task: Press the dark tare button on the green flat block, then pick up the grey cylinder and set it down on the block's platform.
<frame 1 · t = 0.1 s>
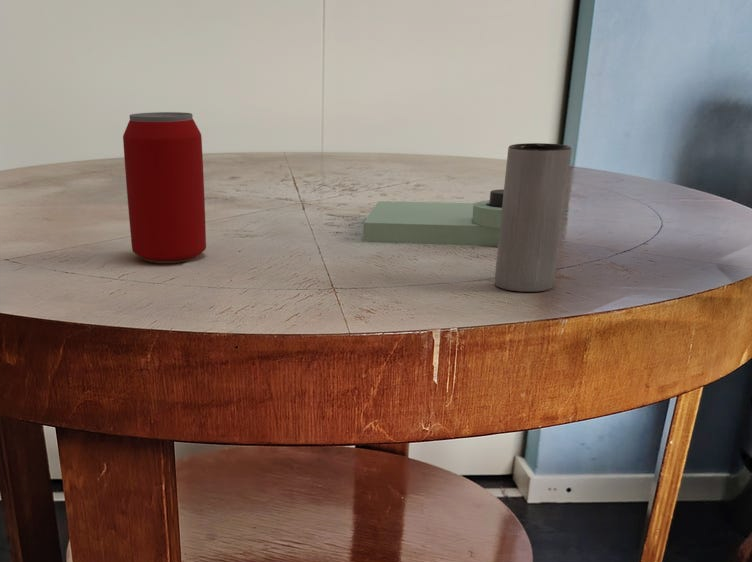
green flat block: (444, 232, 91), on the table
grey cylinder: (523, 288, 71), on the table
beverage can: (169, 259, 82), on the table
tare button: (504, 200, 84), point 4 cm above the table, slide at 0.1 cm
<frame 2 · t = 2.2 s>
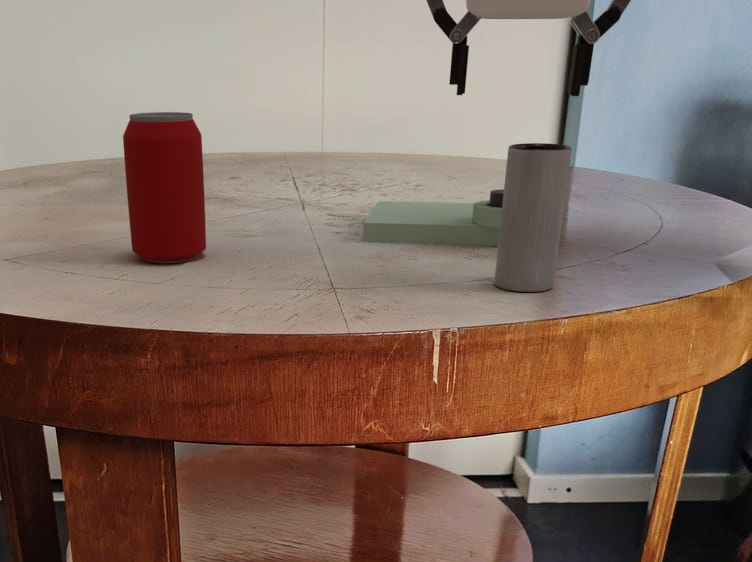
hand: (516, 94, 79), 13 cm above the table, tool pointing down, fingers open, 9 cm apart
nothing on the table moved.
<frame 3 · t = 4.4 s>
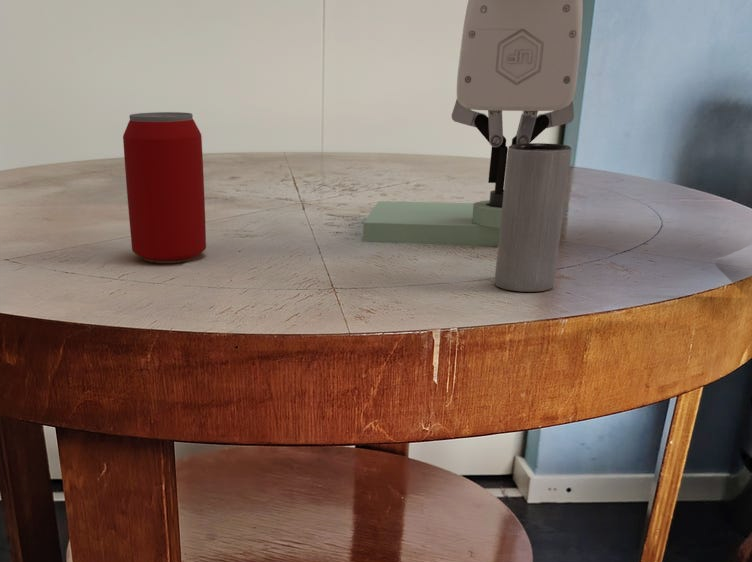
hand: (503, 191, 84), 5 cm above the table, tool pointing down, fingers closed
tare button: (504, 200, 84), point 4 cm above the table, slide at 0.1 cm, touching gripper
everything else where it was.
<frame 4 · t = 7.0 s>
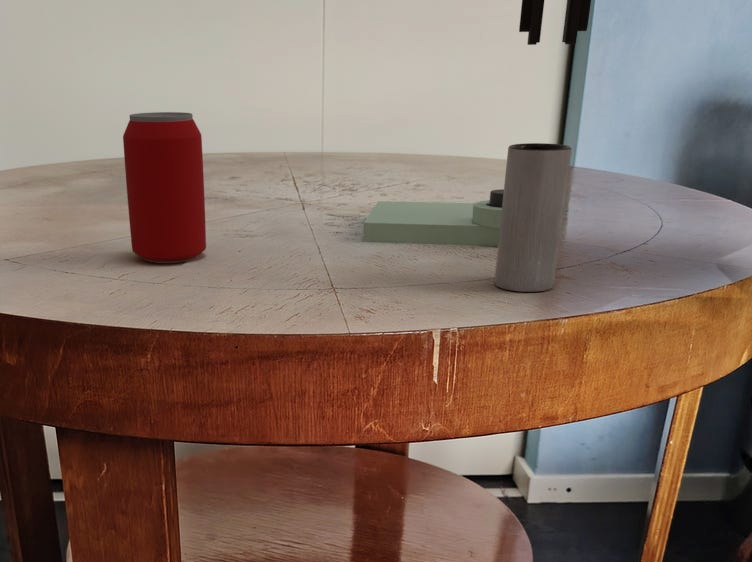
hand: (551, 42, 63), 17 cm above the table, tool pointing down, fingers closed
tare button: (504, 200, 84), point 4 cm above the table, slide at 0.1 cm
everything else where it was.
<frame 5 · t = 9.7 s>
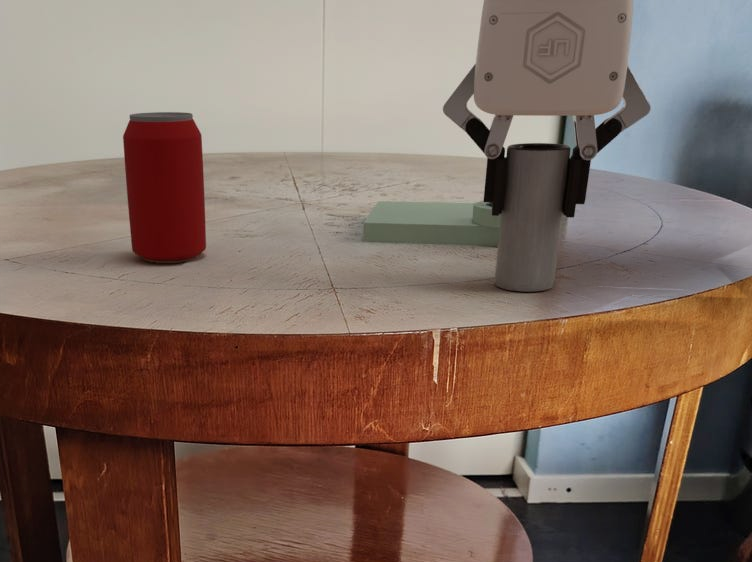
hand: (532, 211, 68), 6 cm above the table, tool pointing down, fingers closed on grey cylinder, 4 cm apart
grey cylinder: (523, 287, 71), on the table, touching gripper
everything else where it was.
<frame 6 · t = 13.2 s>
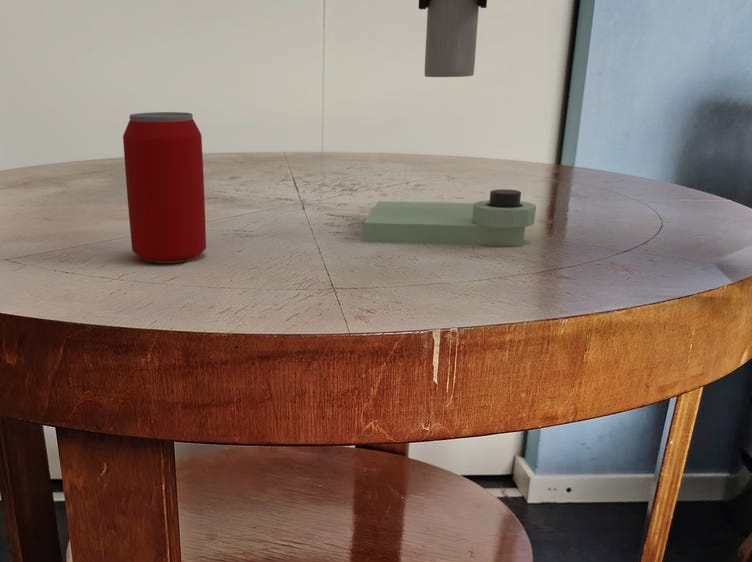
hand: (452, 5, 81), 20 cm above the table, tool pointing down, fingers closed on grey cylinder, 4 cm apart
grey cylinder: (448, 78, 84), point 14 cm above the table, touching gripper
everything else where it was.
when the fingers open (8 cm above the table, at t = 16.7 s): grey cylinder stays where it is, resting on green flat block.
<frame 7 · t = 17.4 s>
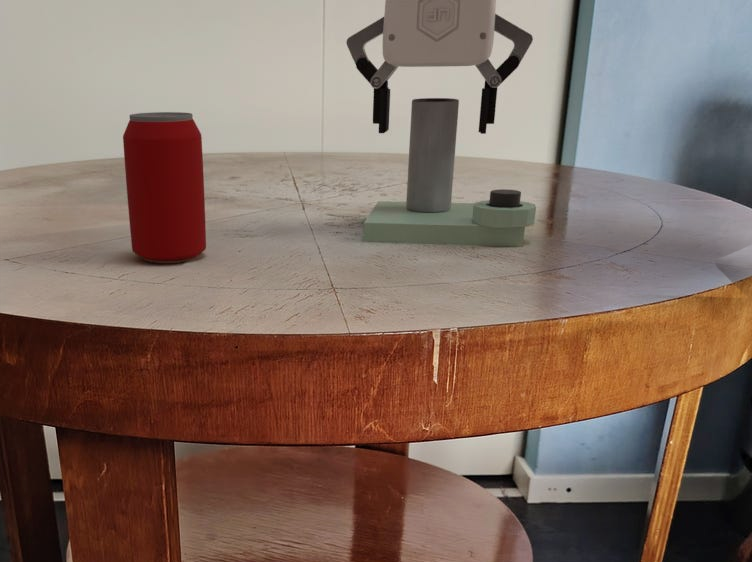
hand: (432, 132, 89), 9 cm above the table, tool pointing down, fingers open, 9 cm apart
grey cylinder: (428, 211, 92), point 2 cm above the table, touching green flat block
everything else where it was.
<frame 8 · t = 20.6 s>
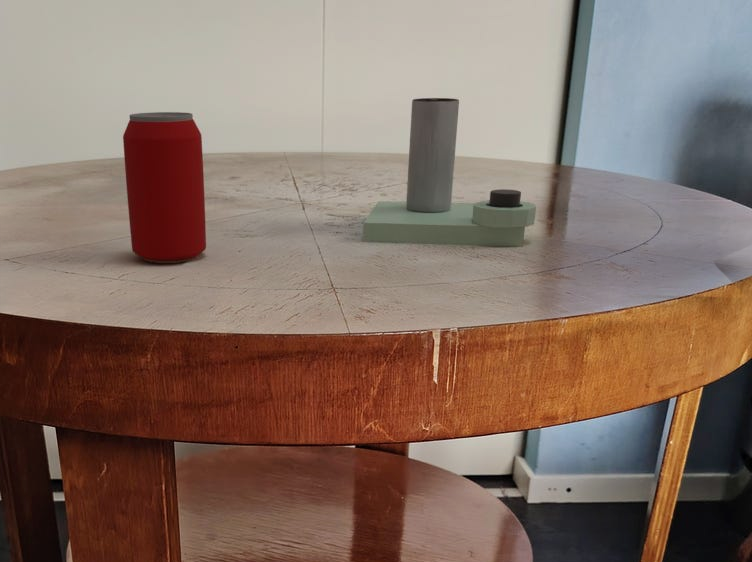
nothing on the table moved.
at the end: tare button pushed in 0.9 cm at the most during the clip, back to where it started at the end; grey cylinder inside the target area on the green flat block (2.8 cm from its centre), point 1.7 cm above the green flat block's base; grey cylinder touching green flat block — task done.
